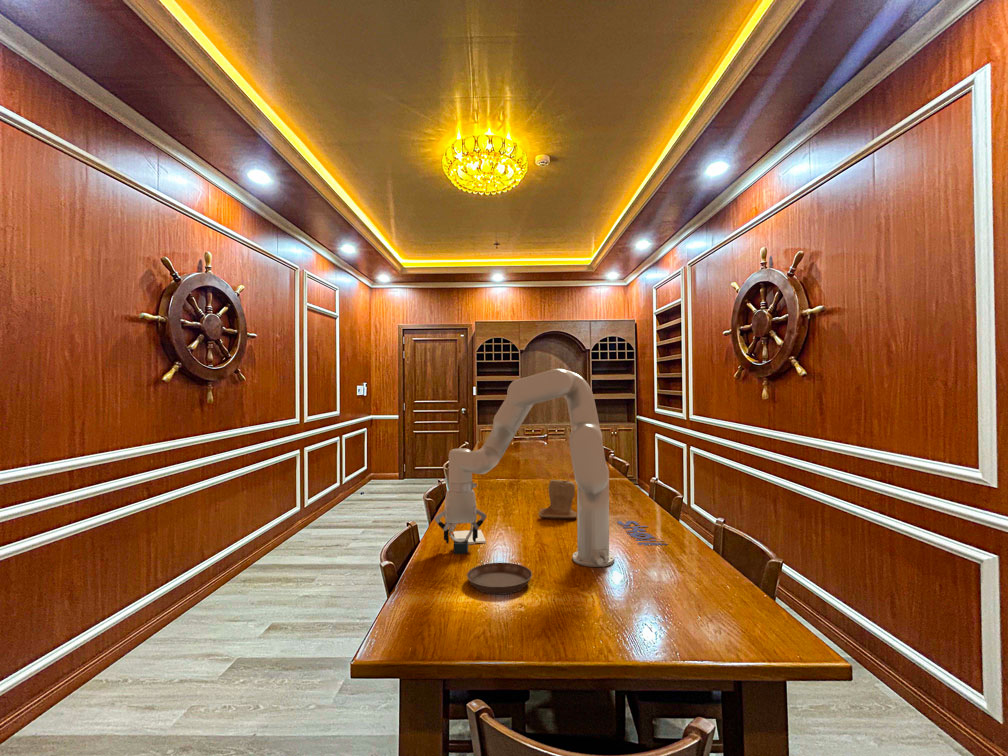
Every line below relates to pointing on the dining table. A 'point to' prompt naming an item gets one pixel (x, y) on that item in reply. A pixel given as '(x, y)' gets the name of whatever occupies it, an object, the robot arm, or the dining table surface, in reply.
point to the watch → (460, 540)
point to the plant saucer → (499, 577)
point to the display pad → (470, 541)
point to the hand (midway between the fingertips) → (460, 541)
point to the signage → (636, 534)
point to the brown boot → (560, 500)
